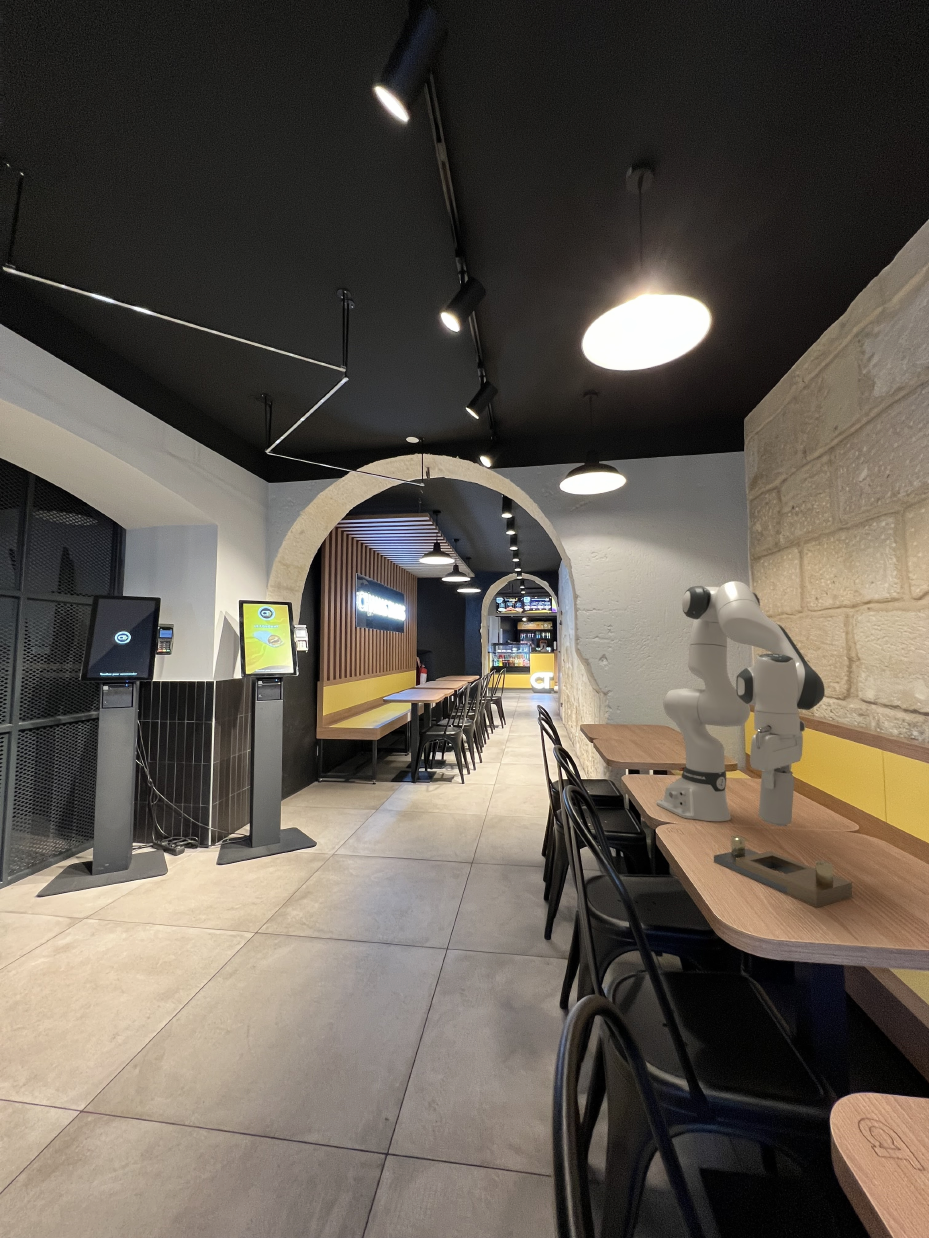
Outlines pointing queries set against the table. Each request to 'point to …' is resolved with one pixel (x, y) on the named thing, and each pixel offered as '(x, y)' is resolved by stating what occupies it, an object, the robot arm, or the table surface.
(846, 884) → the plate with brass posts
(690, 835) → the table surface
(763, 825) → the table surface
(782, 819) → the beverage can
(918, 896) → the table surface
